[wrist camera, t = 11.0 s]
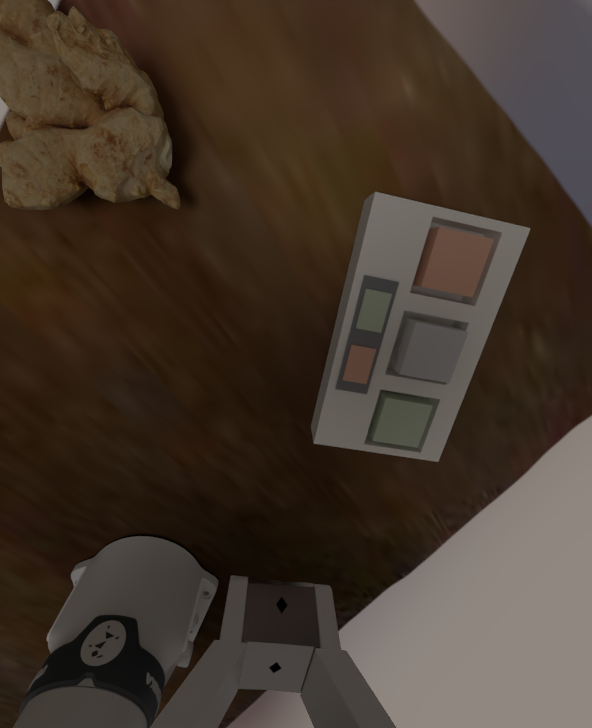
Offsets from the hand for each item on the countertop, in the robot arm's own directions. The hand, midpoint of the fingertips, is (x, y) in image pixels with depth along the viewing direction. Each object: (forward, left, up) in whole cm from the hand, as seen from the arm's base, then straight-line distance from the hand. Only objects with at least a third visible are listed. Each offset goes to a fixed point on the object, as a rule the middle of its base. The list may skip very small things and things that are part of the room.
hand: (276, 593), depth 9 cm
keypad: (+4, -12, -25) cm, 28 cm away
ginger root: (+16, +18, -26) cm, 35 cm away
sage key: (-4, -13, -23) cm, 27 cm away
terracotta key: (+12, -13, -23) cm, 29 cm away
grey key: (+4, -14, -22) cm, 26 cm away
